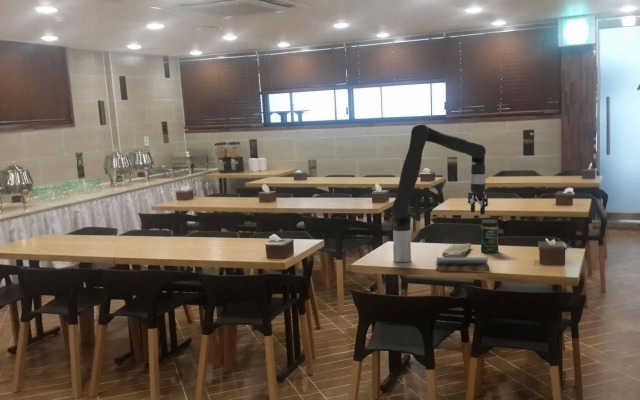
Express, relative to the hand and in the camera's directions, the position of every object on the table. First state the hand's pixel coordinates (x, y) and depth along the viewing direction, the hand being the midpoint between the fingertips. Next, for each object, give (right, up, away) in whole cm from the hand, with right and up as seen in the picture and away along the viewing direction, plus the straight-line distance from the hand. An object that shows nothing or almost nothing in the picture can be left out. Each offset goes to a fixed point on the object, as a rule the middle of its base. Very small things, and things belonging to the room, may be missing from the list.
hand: (477, 213), depth 323 cm
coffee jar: (+13, -23, +25) cm, 36 cm away
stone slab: (-5, -24, +26) cm, 36 cm away
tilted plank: (-11, -25, -10) cm, 29 cm away
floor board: (-10, -28, -7) cm, 30 cm away
